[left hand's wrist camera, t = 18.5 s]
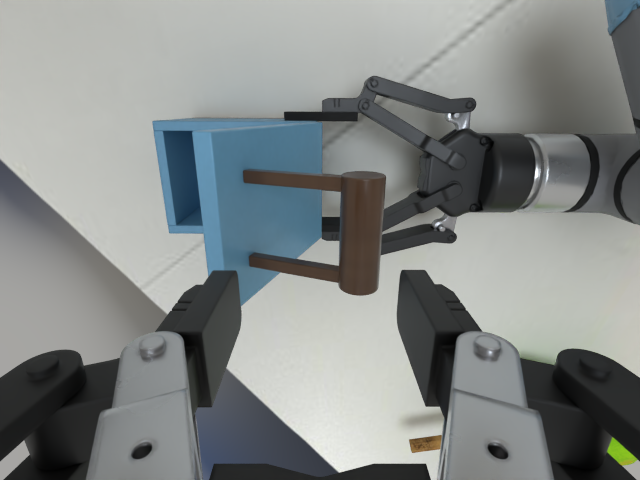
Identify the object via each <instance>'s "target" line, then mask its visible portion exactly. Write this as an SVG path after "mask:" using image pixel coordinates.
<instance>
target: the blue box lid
mask: <svg viewBox="0 0 640 480" xmlns="http://www.w3.org/2000/svg"><path fill="white" fill-rule="evenodd" d="M192 136H193V145H194V154H195V163H196V171H197V180H198V189H199V197H200V206H201V215H202V224H203V232H204V241H205V250H206V259H207V267H208V276H209V275H210V274H211V272H212V271H213V270H236V271H237V274H238V280H239V292H240V303H241V306H242V305H243V304H244V303H245V302H247V301H248V300H249V299H250V298H251V297H252V296H253V295H255V294H256V293H257V292H258V291H259V290H260V289H262V288H263V287H264V286H265V285H266V284H267V283H269V282H270V281H271V280H272V279H273V278H274V277H276V276H277V275H278V274H279V273H280V272H282V273H287V274H293V275H298V276H304V277H309V278H315V279H320V280H326V281H331V282H337V283H338V285H339V288H340V289H341V290H342V291H344V292H346V293H348V294H352V295H369V294H372V293H374V292H376V291H377V289H378V285H379V270H380V256H381V241H382V227H383V212H384V198H385V184H386V176H385V175H384V174H381V173H377V172H367V171H355V172H346V173H343V174H342V175H331V174H322V122H305V123H291V124H278V125H265V126H252V127H239V128H225V129H212V130H199V131H193V132H192ZM322 190H327V191H338V192H341V206H340V244H339V266H335V265H329V264H323V263H317V262H311V261H305V260H299V259H296V258H298V257H299V256H300V255H301V254H302V253H303V252H305V251H306V250H307V249H308V248H309V247H310V246H312V245H313V244H314V243H315V242H316V241H317V240H319V239H320V238H321V237H322Z"/></svg>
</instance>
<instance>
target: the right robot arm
mask: <svg viewBox="0 0 640 480" xmlns="http://www.w3.org/2000/svg"><path fill="white" fill-rule="evenodd" d="M605 5H606V12H607V19H608V26H609V27H608V32H609V35H610V36H612V40H613V44H614V48H615V52H616V55H617V59H618V63H619V67H620V71H621V74H622V78H623V82H624V86H625V90H626V93H627V97H628V101H629V105H630V108H631V112H632V117H633V121H634V125H635V130H636V134H590V135H580V134H526V135H521V134H507V133H476V132H474V131H473V130H471V129H470V114H471V111H473V110H474V109H475V107H476V101H475V99H473V98H459V99H448V98H445V97H442V96H439V95H435V94H432V93H429V92H426V91H423V90H419V89H416V88H413V87H410V86H407V85H403V84H400V83H397V82H394V81H390V80H387V79H384V78H381V77H378V76H372V77H370V78H368V79H367V80H366V81H365V83H364V87H363V89H362V92H361V94H360V96H359V97H357V98H327V99H325V100H323V101H322V112H284V121H357V120H358V113H362V114H364V115H365V116H367V117H368V118H370V119H372V120H373V121H375V122H377V123H378V124H380V125H382V126H383V127H385V128H387V129H388V130H390V131H391V132H393V133H395V134H396V135H398V136H400V137H401V138H403V139H405V140H406V141H408V142H409V143H411V144H413V145H414V146H416V147H417V148H419V149H421V150H422V151H424V153H423V155H422V156H420V169H421V173H420V176H419V178H418V185H417V187H418V188H419V190H417V191H415V192H413V193H412V194H410V195H409V196H408V197H407V198H405V199H403V200H401V201H399V202H397V203H396V204H394V205H392V206H390V207H388V208H386V209H384V212H383V227H382V232H383V231H385V230H387V229H389V228H391V227H393V226H395V225H397V224H399V223H400V222H402V221H404V220H406V219H408V218H410V217H412V216H414V215H416V214H418V213H424V212H426V211H428V210H430V209H432V208H434V207H437V208H439V209H440V210H441V211H442V212H444V215H443V217H442V218H440V219H436V220H434V221H433V222H432V224H423V225H419V226H415V227H411V228H407V229H403V230H399V231H395V232H391V233H387V234H383V235H382V241H381V255H383V254H387V253H391V252H395V251H399V250H404V249H408V248H412V247H416V246H420V245H424V244H428V243H432V242H438V243H453V242H455V241H456V239H457V236H456V234H455V233H454V227H455V223H456V218H457V217H458V216H460V215H462V214H464V213H468V212H513V211H517V212H522V213H528V212H590V213H604V214H609V215H612V216H615V217H617V218H620V219H623V220H626V221H628V222H631V223H634V224H638V225H640V0H605ZM376 94H377V95H380V96H383V97H387V98H390V99H393V100H396V101H400V102H403V103H406V104H409V105H413V106H416V107H419V108H422V109H426V110H429V111H432V112H436V113H445V119H446V121H448V122H452V123H453V124H454V125H455V130H453V131H452V132H450V133H449V134H447V135H446V136H444V137H443V138H441V139H440V140H438V141H436V140H435V139H433V138H432V137H430V136H428V135H426V134H424V133H423V132H421V131H419V130H418V129H416V128H415V127H413V126H411V125H410V124H408V123H407V122H405V121H403V120H402V119H400V118H398V117H397V116H395V115H394V114H392V113H390V112H389V111H387V110H386V109H384V108H382V107H381V106H379V105H377V104H376V103H374V99H375V97H376ZM322 239H324V240H326V241H340V217H322Z"/></svg>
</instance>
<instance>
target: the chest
mask: <svg viewBox="0 0 640 480" xmlns="http://www.w3.org/2000/svg"><path fill="white" fill-rule="evenodd" d="M305 122H317V121H284V118H188V119H174V120H160V121H153V129H154V136H155V143H156V150H157V156H158V163H159V169H160V176H161V183H162V189H163V196H164V203H165V209H166V216H167V223H168V228H169V233H204V232H203V224H202V215H201V206H200V197H199V189H198V180H197V171H196V163H195V154H194V145H193V136H192V132H193V131H199V130H212V129H225V128H239V127H252V126H265V125H278V124H291V123H305Z"/></svg>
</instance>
